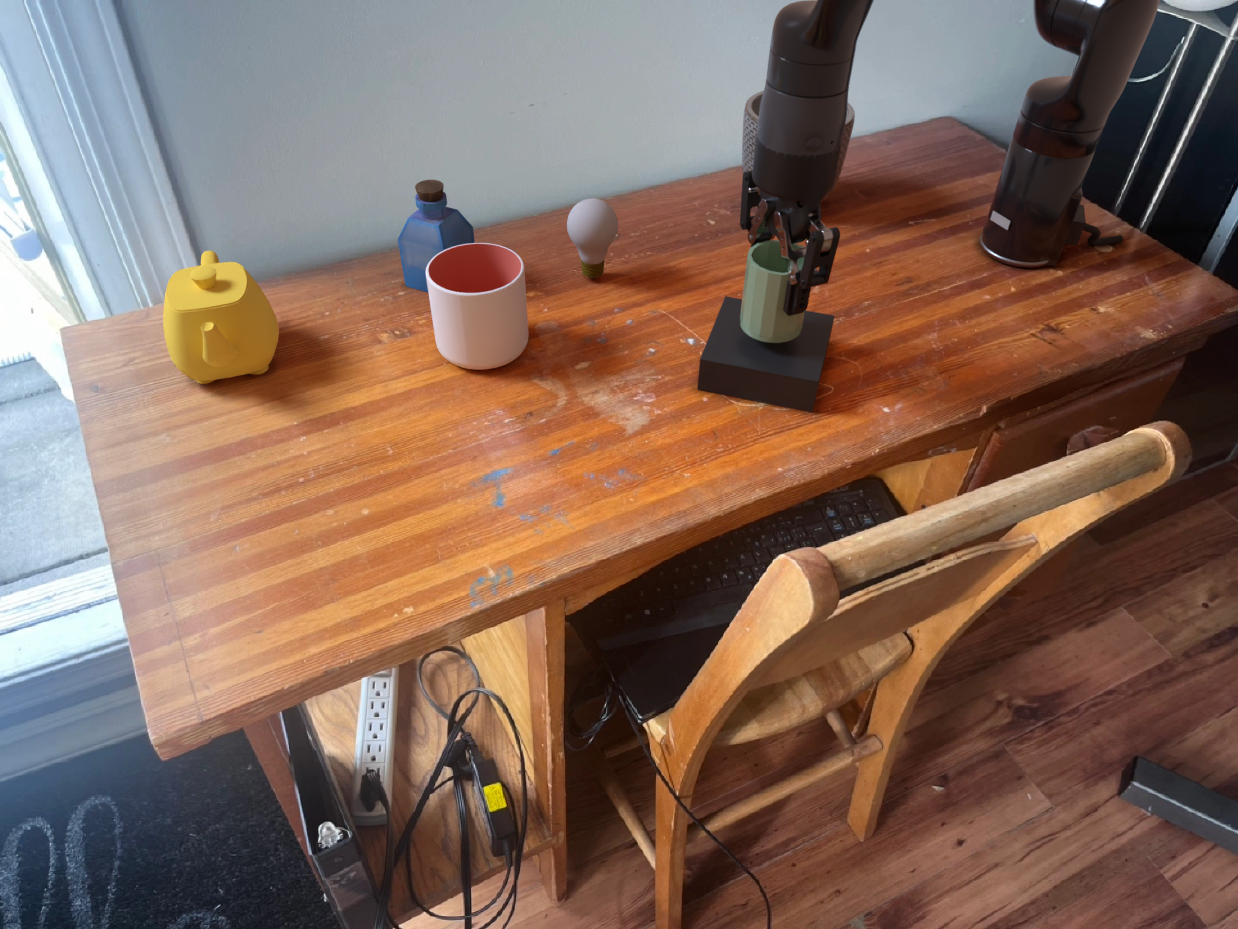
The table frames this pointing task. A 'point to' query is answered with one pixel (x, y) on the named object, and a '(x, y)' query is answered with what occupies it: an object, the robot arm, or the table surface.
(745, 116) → the planter
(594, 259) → the light bulb
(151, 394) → the table surface
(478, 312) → the cup
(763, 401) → the riser
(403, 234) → the perfume bottle
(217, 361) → the teapot
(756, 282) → the sage cup
